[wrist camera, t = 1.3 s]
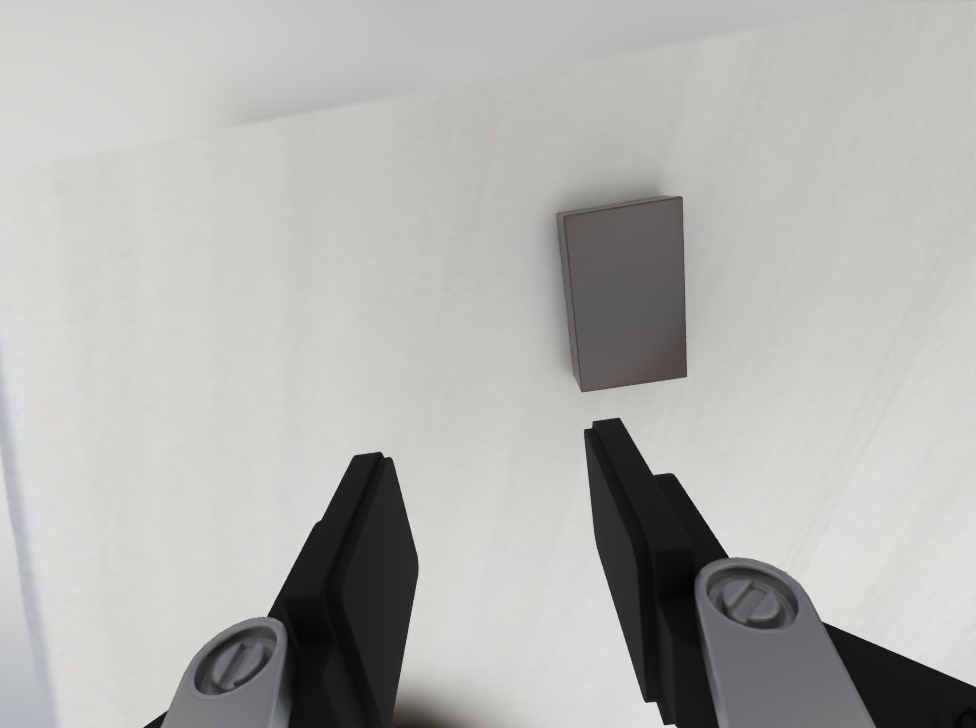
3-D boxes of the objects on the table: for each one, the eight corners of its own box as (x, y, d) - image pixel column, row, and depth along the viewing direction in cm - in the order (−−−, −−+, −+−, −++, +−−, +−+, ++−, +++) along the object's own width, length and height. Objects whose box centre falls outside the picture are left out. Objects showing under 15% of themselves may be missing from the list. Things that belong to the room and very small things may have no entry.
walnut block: (556, 213, 25) (563, 216, 23) (664, 195, 25) (683, 195, 22) (573, 376, 28) (581, 393, 26) (670, 361, 28) (687, 377, 25)
